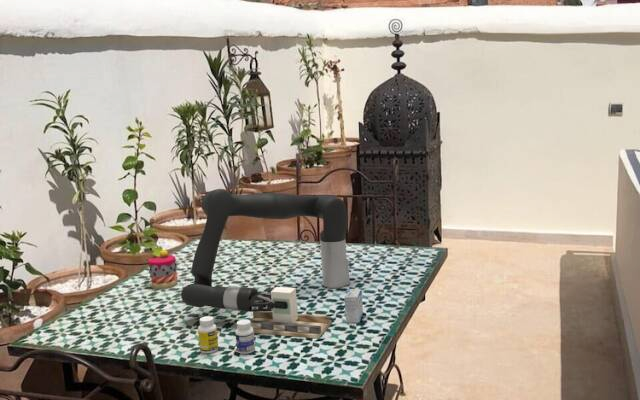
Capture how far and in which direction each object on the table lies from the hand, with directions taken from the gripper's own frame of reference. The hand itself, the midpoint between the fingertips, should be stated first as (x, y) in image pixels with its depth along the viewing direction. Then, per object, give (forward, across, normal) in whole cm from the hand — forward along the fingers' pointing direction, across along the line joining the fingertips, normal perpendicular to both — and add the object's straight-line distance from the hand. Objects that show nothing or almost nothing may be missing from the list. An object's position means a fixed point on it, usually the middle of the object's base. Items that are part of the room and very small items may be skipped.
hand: (290, 302), depth 209 cm
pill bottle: (-7, -19, +9) cm, 22 cm away
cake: (-66, +30, +9) cm, 73 cm away
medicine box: (+17, +12, +9) cm, 22 cm away
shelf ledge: (-2, 0, +8) cm, 9 cm away
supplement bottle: (-18, -21, +9) cm, 29 cm away
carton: (-2, 0, +6) cm, 6 cm away
